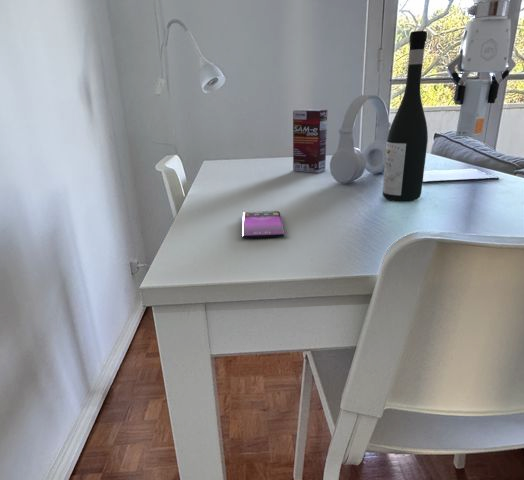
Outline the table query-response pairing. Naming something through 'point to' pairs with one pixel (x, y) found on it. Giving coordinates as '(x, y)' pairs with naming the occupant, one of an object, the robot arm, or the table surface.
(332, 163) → the headphones
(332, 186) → the table surface
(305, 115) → the supplement box
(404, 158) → the wine bottle
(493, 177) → the mat
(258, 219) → the smartphone
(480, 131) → the cosmetic box
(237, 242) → the table surface
